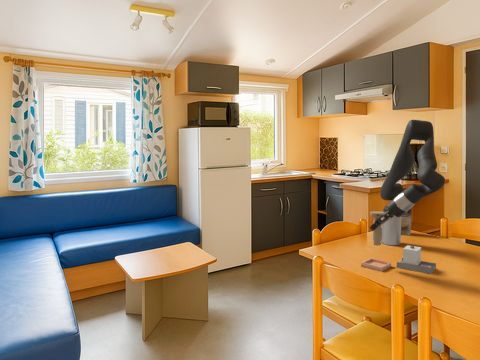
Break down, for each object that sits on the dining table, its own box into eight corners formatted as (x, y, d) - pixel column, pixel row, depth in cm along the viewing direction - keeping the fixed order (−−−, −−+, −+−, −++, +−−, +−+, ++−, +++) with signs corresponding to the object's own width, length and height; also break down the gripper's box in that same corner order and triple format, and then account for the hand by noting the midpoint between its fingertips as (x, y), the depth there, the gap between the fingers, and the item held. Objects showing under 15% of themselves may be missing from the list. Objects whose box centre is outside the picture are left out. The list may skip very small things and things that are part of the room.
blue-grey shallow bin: (396, 267, 175) (396, 261, 175) (401, 262, 182) (402, 257, 181) (431, 273, 166) (431, 268, 166) (435, 268, 173) (435, 263, 172)
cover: (402, 263, 174) (403, 246, 173) (406, 259, 179) (407, 243, 178) (416, 266, 171) (417, 249, 170) (420, 262, 176) (421, 245, 175)
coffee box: (394, 234, 233) (394, 207, 231) (394, 231, 239) (395, 205, 237) (410, 235, 229) (411, 208, 227) (410, 232, 235) (411, 206, 233)
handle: (369, 243, 179) (369, 211, 177) (384, 243, 177) (384, 211, 176) (369, 246, 174) (370, 213, 173) (385, 246, 173) (385, 213, 171)
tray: (361, 266, 178) (361, 262, 177) (370, 261, 184) (370, 257, 184) (381, 271, 170) (381, 267, 170) (391, 266, 176) (391, 262, 176)
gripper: (399, 195, 174) (372, 219, 183) (389, 200, 163) (361, 224, 172) (412, 208, 171) (383, 231, 180) (402, 213, 160) (372, 238, 169)
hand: (372, 228), depth 176 cm, fingers closed on handle, 3 cm apart
